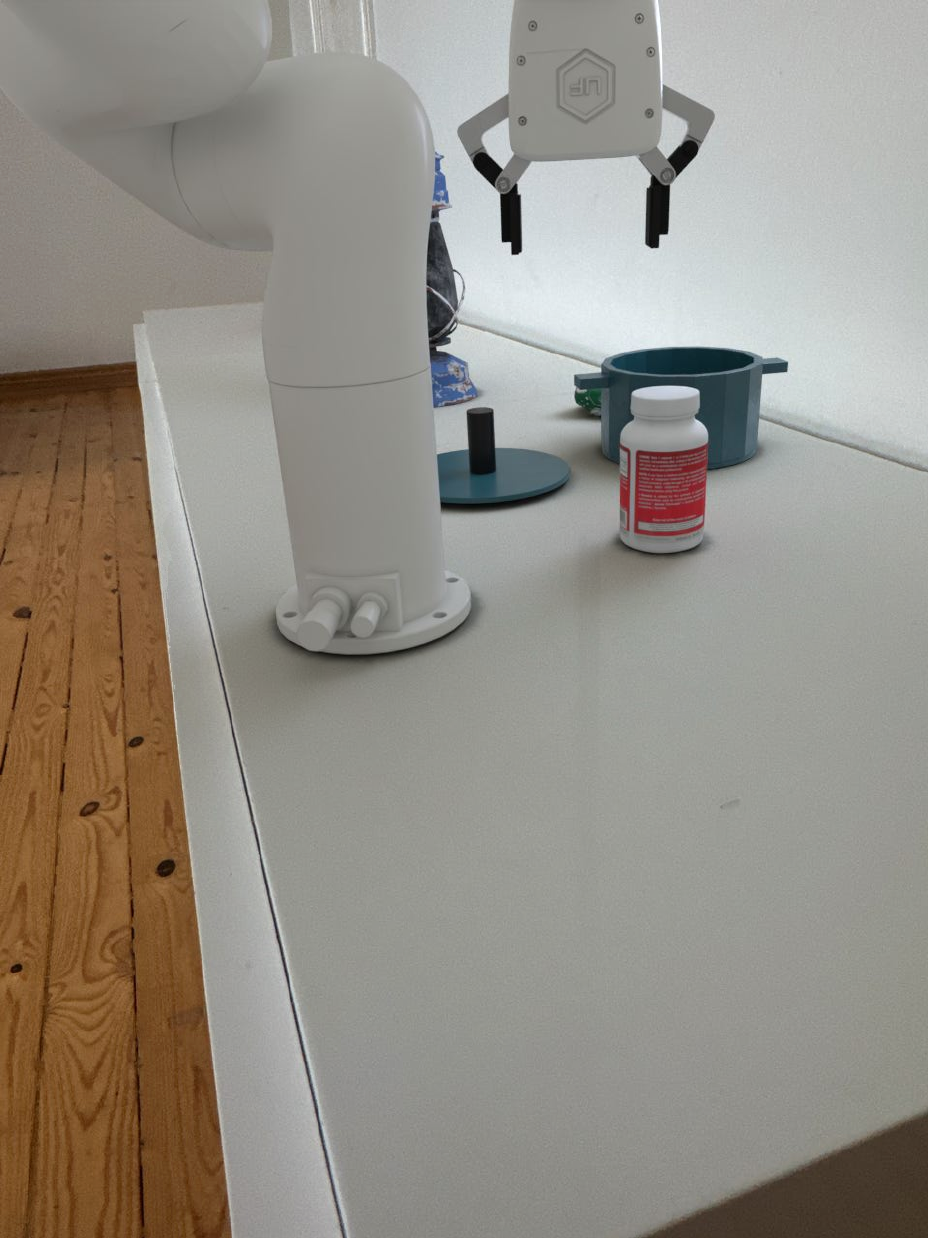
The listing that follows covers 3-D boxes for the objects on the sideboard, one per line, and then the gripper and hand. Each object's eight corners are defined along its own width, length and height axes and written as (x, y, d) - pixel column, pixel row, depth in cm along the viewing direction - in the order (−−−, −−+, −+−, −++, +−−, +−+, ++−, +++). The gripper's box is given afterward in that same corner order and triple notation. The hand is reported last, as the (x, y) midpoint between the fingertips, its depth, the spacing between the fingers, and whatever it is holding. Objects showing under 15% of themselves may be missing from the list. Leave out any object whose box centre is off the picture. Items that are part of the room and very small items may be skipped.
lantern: (477, 407, 115) (462, 124, 102) (375, 413, 115) (347, 132, 103) (477, 381, 129) (464, 130, 116) (385, 386, 129) (362, 136, 117)
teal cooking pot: (810, 459, 88) (819, 365, 85) (597, 480, 86) (597, 384, 83) (747, 422, 101) (752, 339, 98) (560, 439, 99) (559, 355, 96)
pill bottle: (721, 541, 71) (730, 390, 66) (660, 562, 68) (664, 405, 63) (661, 520, 76) (666, 378, 71) (602, 539, 73) (602, 392, 68)
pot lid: (588, 500, 81) (588, 422, 79) (404, 518, 80) (398, 439, 77) (549, 452, 95) (548, 385, 93) (392, 467, 94) (386, 399, 91)
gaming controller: (577, 425, 111) (563, 397, 106) (586, 397, 112) (572, 367, 107) (655, 431, 107) (644, 401, 102) (663, 401, 108) (652, 370, 103)
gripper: (444, -36, 59) (459, 260, 67) (731, -58, 58) (715, 248, 65) (455, -15, 66) (467, 252, 73) (712, -34, 65) (699, 240, 72)
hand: (583, 249), depth 69 cm, fingers open, 9 cm apart
